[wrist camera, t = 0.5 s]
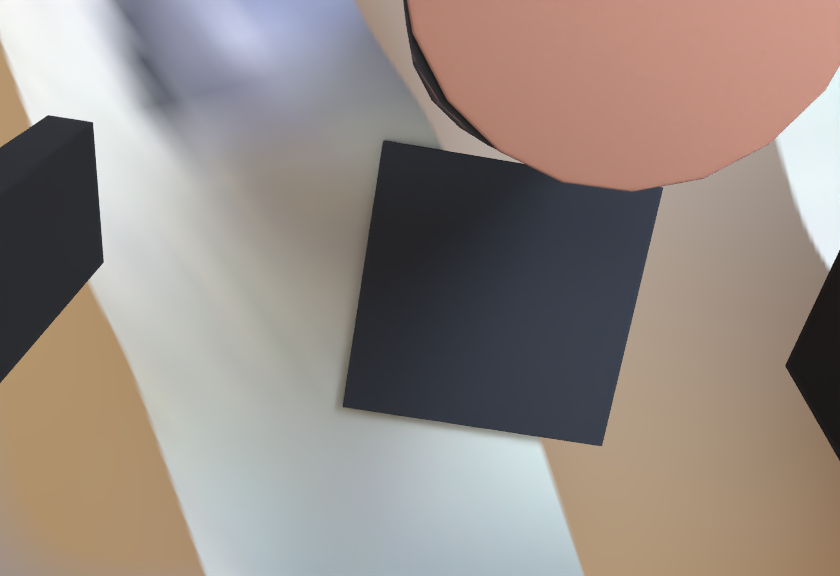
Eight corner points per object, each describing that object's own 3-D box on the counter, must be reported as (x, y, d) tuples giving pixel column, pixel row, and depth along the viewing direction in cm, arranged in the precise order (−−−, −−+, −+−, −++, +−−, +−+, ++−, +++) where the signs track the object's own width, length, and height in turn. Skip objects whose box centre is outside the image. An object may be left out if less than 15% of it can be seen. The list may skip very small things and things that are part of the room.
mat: (600, 443, 39) (601, 446, 39) (343, 404, 39) (342, 407, 38) (661, 187, 36) (663, 187, 36) (383, 140, 36) (383, 140, 35)
